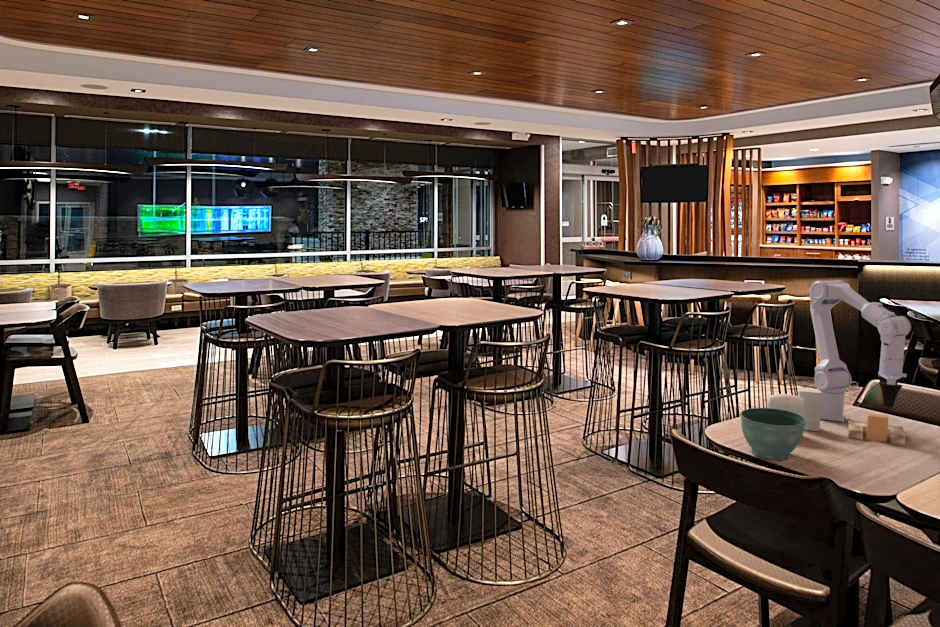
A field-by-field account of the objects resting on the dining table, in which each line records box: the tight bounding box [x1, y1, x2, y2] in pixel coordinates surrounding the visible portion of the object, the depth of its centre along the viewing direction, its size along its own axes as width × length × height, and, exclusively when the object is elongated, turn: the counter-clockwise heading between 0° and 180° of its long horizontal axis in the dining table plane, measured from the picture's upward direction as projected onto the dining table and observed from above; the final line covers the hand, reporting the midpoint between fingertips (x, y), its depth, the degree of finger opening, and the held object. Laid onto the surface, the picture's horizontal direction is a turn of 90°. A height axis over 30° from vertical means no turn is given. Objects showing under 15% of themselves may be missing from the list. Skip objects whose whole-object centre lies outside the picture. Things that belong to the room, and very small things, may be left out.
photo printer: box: [766, 393, 805, 417], centre depth 204 cm, size 10×4×12 cm, turn 73°
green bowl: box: [740, 407, 806, 461], centre depth 187 cm, size 16×16×11 cm
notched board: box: [847, 419, 907, 446], centre depth 203 cm, size 14×11×2 cm
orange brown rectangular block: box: [865, 412, 889, 442], centre depth 201 cm, size 5×3×7 cm, turn 63°
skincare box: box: [797, 388, 822, 432], centre depth 210 cm, size 6×4×12 cm
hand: (887, 403), depth 202 cm, fingers open, 7 cm apart
